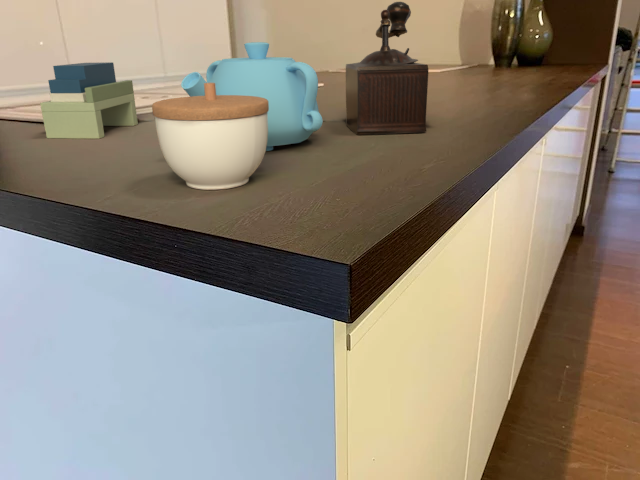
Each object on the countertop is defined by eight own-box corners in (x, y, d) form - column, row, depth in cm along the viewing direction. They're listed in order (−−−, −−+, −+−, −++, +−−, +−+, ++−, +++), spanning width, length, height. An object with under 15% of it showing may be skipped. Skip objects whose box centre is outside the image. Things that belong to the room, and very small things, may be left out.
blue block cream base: (90, 93, 87) (85, 62, 85) (119, 93, 86) (115, 62, 84) (50, 102, 76) (44, 66, 75) (84, 102, 76) (78, 66, 74)
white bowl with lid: (217, 164, 60) (209, 77, 57) (293, 177, 54) (290, 80, 51) (138, 186, 52) (124, 85, 48) (218, 203, 46) (209, 90, 43)
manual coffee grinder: (431, 132, 77) (439, -5, 71) (355, 135, 76) (357, -4, 70) (403, 117, 92) (408, 2, 85) (339, 119, 90) (339, 3, 84)
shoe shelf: (46, 138, 77) (36, 88, 75) (92, 124, 89) (85, 80, 87) (99, 138, 77) (91, 87, 74) (138, 124, 89) (132, 80, 86)
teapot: (355, 141, 72) (356, 40, 67) (253, 171, 57) (246, 44, 52) (247, 128, 83) (242, 41, 78) (138, 151, 68) (123, 44, 63)
